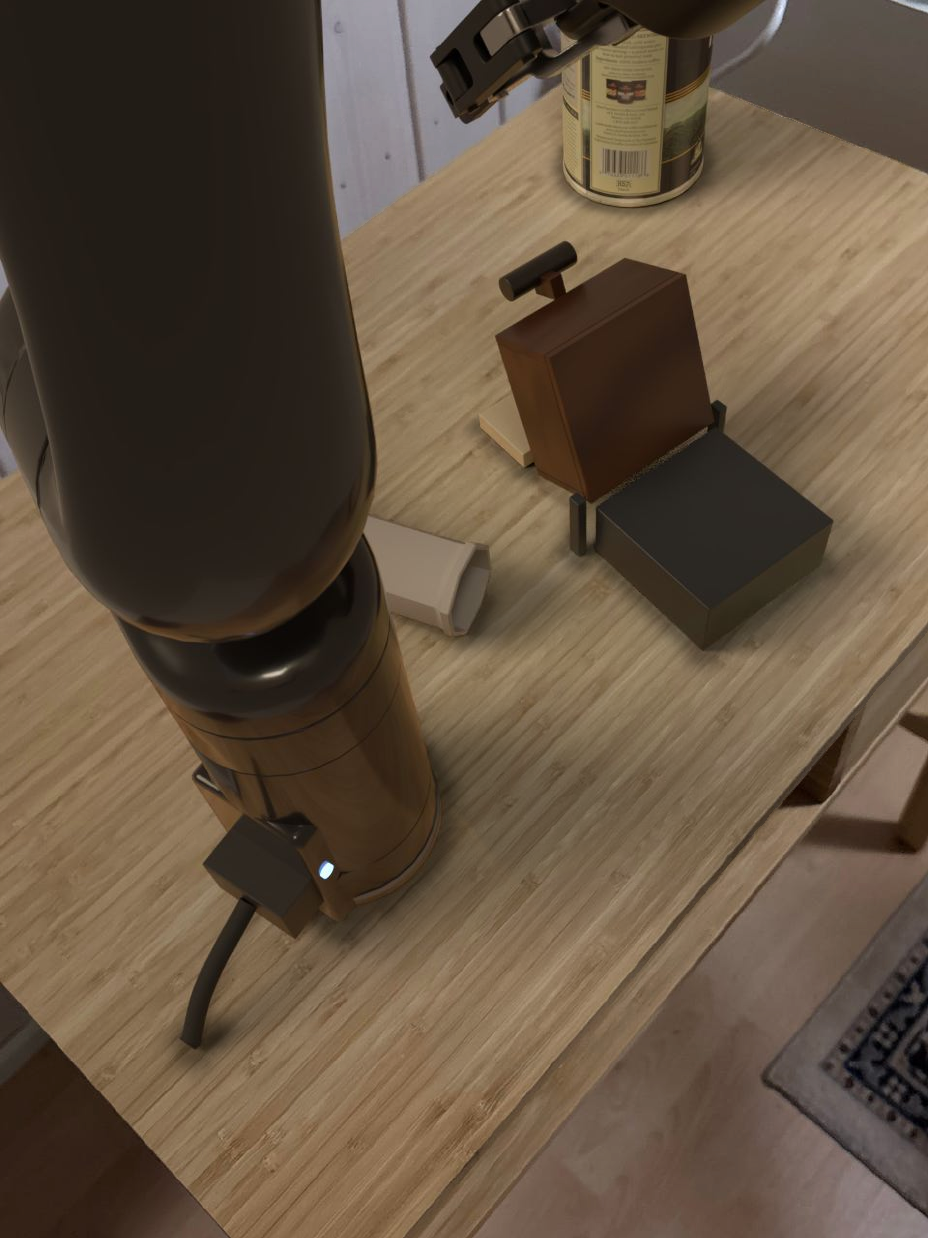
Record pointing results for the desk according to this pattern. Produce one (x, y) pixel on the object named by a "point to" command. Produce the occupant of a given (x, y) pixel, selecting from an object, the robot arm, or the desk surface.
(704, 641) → the stand
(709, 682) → the desk surface
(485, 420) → the block
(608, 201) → the coffee can
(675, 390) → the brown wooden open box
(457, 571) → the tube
